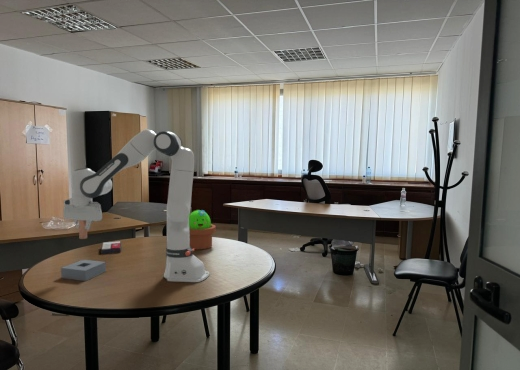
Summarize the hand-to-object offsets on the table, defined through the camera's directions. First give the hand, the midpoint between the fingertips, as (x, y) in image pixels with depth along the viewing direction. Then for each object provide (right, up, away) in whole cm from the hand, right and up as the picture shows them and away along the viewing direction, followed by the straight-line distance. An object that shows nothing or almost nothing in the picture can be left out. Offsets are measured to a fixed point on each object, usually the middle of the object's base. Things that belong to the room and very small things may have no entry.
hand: (83, 228), depth 168 cm
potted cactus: (+47, -19, +59) cm, 77 cm away
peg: (0, -5, 0) cm, 5 cm away
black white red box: (-6, -20, +47) cm, 51 cm away
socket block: (0, -23, +2) cm, 23 cm away
